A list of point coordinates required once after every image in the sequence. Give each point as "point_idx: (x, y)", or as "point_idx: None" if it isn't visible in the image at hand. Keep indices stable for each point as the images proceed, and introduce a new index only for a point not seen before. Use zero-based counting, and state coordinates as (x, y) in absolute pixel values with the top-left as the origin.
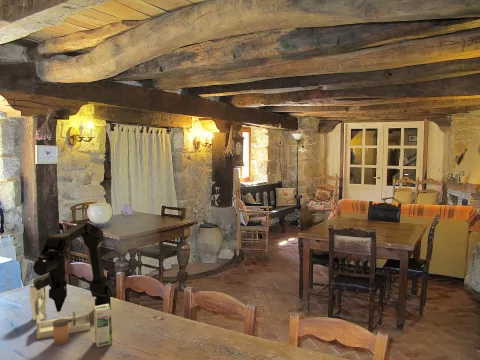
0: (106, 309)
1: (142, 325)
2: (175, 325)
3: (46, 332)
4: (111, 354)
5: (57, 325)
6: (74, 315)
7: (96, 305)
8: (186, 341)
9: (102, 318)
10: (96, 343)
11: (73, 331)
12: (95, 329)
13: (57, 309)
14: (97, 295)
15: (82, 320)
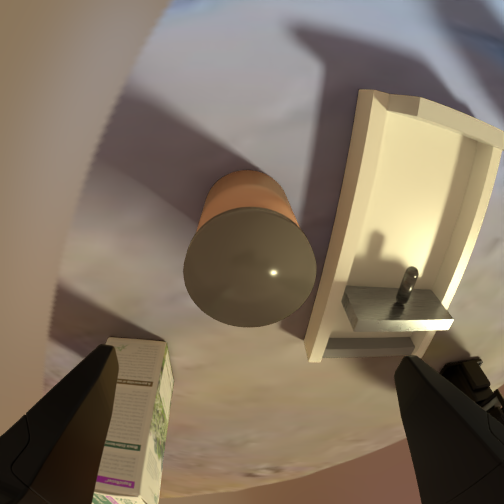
0: None
1: (232, 449)
2: (192, 479)
3: (360, 146)
4: (51, 355)
5: (190, 245)
6: (407, 327)
7: (465, 377)
8: None
9: None
10: (117, 345)
11: (323, 280)
12: (116, 391)
13: (80, 371)
14: (483, 407)
15: None
